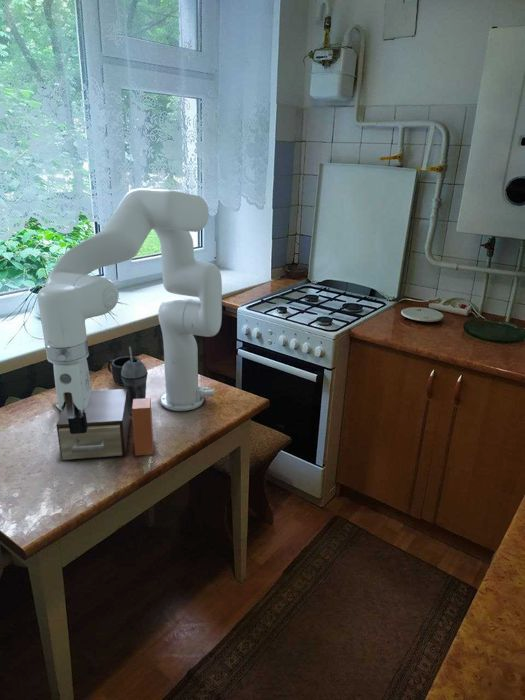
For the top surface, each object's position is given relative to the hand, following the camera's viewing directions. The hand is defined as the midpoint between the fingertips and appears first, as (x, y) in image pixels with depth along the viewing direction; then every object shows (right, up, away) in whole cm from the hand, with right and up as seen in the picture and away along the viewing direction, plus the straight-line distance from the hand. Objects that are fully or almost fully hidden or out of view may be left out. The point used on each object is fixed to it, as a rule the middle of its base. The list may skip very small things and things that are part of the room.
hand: (79, 431), depth 102 cm
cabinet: (-5, -6, +25) cm, 27 cm away
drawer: (-4, -7, +21) cm, 23 cm away
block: (+8, -8, +22) cm, 25 cm away
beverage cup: (+2, -1, +40) cm, 40 cm away
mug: (-7, +7, +57) cm, 58 cm away
